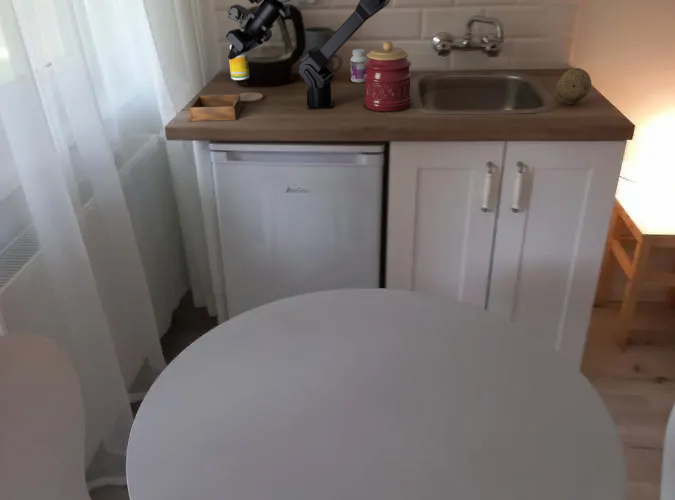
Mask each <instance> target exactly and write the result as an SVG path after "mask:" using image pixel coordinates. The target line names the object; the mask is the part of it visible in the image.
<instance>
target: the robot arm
mask: <svg viewBox="0 0 675 500" xmlns="http://www.w3.org/2000/svg"><path fill="white" fill-rule="evenodd" d="M290 1H291V0H248V2H249V3H250V4H251V5H253V4H255V3H256V5H259V6H258V7H257V8H256V10H255V11H252V10H250V9H249V8H246V7H244V6H242V5H240V4H237V3H236V4H233V5H230V7H229V9H228V10H227V11H226V12H227V18H228V19H229V20H233V21H234V22H236V23H239V24H240V25H239V27H240V28H241V29H242V30H243V31H242V30H241V29H240V28H234V29H231V30H229V31H228V32H227V34H226V35H225V38H226V39H227V40H228V41H229V42H230V43H231V44H232V47H231V49H230V48H229V53H228V55H227V59H228V60H229V59H230V60H232V59H233V58H235V57H237V56H239V55H241V54H243V53H245V52H246V53H247V52H249V51H251V50H253V49H256V47H260V46H261V45H263V44H264V42H265V43H266V42H268V41H269V40H270V39H271V38H272V37H273V31H272V30H271V29H273V27H274V25H275V24H274V23H275V22H276V21H277V20H278V19H279V17H280V16H282V17H283V18H288V17H289V16H291V10H290V5H288V4H287V5H285V4H284V3H287V2H290ZM390 3H391V0H359V1H358V3H357V5H356V7H355V9H354V10H353V12H352V13H351V14H350V16H349V17H348V18H347V19H346V20H345V21H344V22H343V23H342V24H341V26H340V27H338V29H337V30H336V31H335V32H334V33H333V34H332V35H331V36H330V38H328V40H326V42H325V43H324V44H322V46H321V47H320V48H319V47H318V45H315V46H314V47H312V48H311V49H309V50H308V51H307V53H306V55H304V57H302V58H300V60H299V62H300V64H299V65H298V72H299V75H300V77H301V78H302V79H303V81H304V84H305V86H306V105H308V109H331V108H332V107H333V101H332V81H333V78H334V72H333V71H332V70H331V69H330V68H329V67H328V66H329V65H330V63H331V61H332V58H333V57H334V55H336V54H337V52H338V51H339V50H340V49H341V48H342V47H344V45H345V44H347V42H348V41H349V40H350V39H351V37H353V36H354V34H356V32H357V31H358V29H360V28H361V27H362V26H363V25H364V24H365V23H366V22H367V21H368V20H369V19H370V18H371V17H373V16H374V15H376V14H377V13H378V12H381V10H383V9H384V8H386V7H387V6H388V5H389V4H390Z"/></svg>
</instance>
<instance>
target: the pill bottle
mask: <svg viewBox="0 0 675 500" xmlns="http://www.w3.org/2000/svg"><path fill="white" fill-rule="evenodd" d="M367 60H368V57H367V56H366V50H365V49H364V48H354V49H352V56H351V57H350V81H351V82H354V83H365V78H364V75H365V74H366V67H365V66H364V63H365V62H366V61H367Z"/></svg>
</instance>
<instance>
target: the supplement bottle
mask: <svg viewBox="0 0 675 500" xmlns="http://www.w3.org/2000/svg"><path fill="white" fill-rule="evenodd" d="M231 47H232V43H231V44H229V50H230V49H231ZM228 61H229V71H230V78H231V80H233V81H244V80H248V79H249V78H250V68H249V58H248V53H247V52H245V53H243V54H241V55H239V56H237V57H235V58H233V59H232V60H230V59H229V58H228Z"/></svg>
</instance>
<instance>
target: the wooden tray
mask: <svg viewBox="0 0 675 500" xmlns="http://www.w3.org/2000/svg"><path fill="white" fill-rule="evenodd" d="M237 94H238V95H237ZM237 94H210V95H207V94H205V95H197V96H196V97H195V99H194V100H193V101H192V103H191V105H190V106H189V107H188V110H189V117H190V121H191V122H196V121H198V122H201V121H204V122H205V121H232V120H233V121H234V120H235V121H236V120H237V118H238V116H239V113H240V111H241V109H242V102H241V98H240V94H241V93H237Z"/></svg>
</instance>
